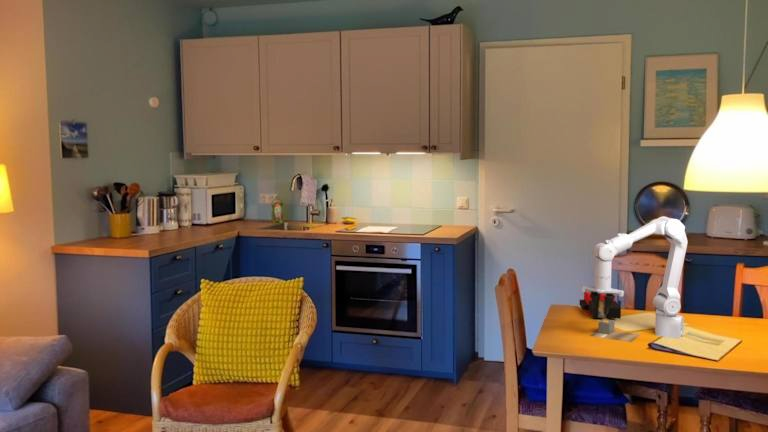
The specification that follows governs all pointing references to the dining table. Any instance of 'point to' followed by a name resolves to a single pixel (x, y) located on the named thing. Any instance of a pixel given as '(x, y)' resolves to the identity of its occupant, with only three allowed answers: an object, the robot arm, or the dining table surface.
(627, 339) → the subfloor panel
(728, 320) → the dining table surface
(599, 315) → the tan capsule cylinder
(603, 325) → the block
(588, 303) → the red-and-black block model
